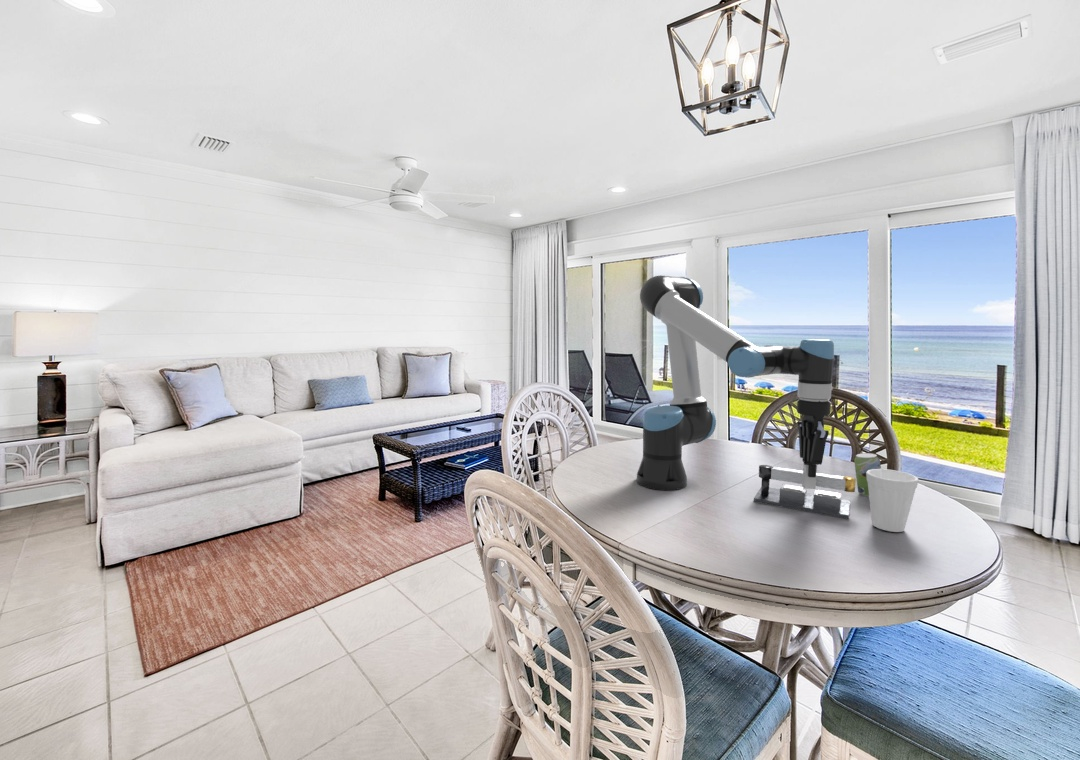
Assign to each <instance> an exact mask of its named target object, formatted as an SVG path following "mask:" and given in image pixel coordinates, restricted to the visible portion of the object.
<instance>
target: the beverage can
mask: <svg viewBox="0 0 1080 760" xmlns="http://www.w3.org/2000/svg"><path fill="white" fill-rule="evenodd" d="M853 461H854V470H855V476H856V478H855V479H856V485H857V486H856V487H857V493H858V494H859V495H862V496H863V497H867V498H869V491H868V482H867V478H866V472H867V471H868V470H871V469H882V466H881V460H880V458H879V457H878V455H877V454H875V453H872V452H864V453H863V452H862V453H861V452H860V453H858V454H856V455H855V458H854V459H853Z"/></svg>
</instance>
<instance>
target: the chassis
mask: <svg viewBox="0 0 1080 760" xmlns="http://www.w3.org/2000/svg"><path fill="white" fill-rule="evenodd" d="M770 480H771V479H763V478H761V486H760V488H759V490H758V492H757V493H756V495H755V496H754V497H753V503H759V504H764V505H771V506H775V507H779V508H780V507H781V508H784V509H791V510H796V511H801V512H802V511H803V512H808V513H812V514H818V515H824V516H829V517H833V518H834V517H835V518H840V519H846V520H849V518H850V509H851V508H850V504H851V501H850V500H848V499H842V493H839V492H834V491H827V490H821V489H814V492H813V494H812V493H807V492H808V489H805V488H803V487H802V486H799V485H798V486H797V485H791V484H785V483H783V484H782V485H781V486H780V488H775V487H771V486H770V483H771V482H770Z"/></svg>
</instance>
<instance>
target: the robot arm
mask: <svg viewBox="0 0 1080 760" xmlns="http://www.w3.org/2000/svg"><path fill="white" fill-rule="evenodd" d="M639 300H640V303H641V305H642V307H643V308H644V309H645V311H646V312H648V313H649V314H650V315H652V316H653V317H655V318H656V319H658V320H660V321H661V323H663V324H664V325H665V326H666V334H667V344H668V353H669V362H670V363H669V365H670V373H671V383H672V393H673V394H672V395H673V398H672V399H671V401H670V402H669V405H661V406H660V405H658V406H652V407H650V408H648V409H646V410H645V411H644V414H643V421H642V459H641V461H640V464H639V466H638V467H639V468H638V470H637V473H636V482H637V484H639V485H640V486H642V487H645V488H648V489H652V490H656V491H657V490H659V491H676V490H682V489H684V488H686V487H687V485H688V476H687V473H686V470H685V466H684V464H683V463H684V462H683V459H682V457H683V456H682V455H683V453H682V452H683V451H682V450H683V448H682V447H683V446H686V445H691V444H692V445H693V444H699V443H701V442H704V441H706V440H708V439H709V438H710V437H712V436H713V434H714V432H715V430H716V426H717V420H716V419H717V418H716V415H715V413H714V411H712V410H711V408H710V407H708V402H707V399H706V398H705V397H703V396H702V391H701V383H700V371H699V361H698V360H699V359H698V352H697V343H698V344H700V345H701V346H702V347H704V348H706V349H707V350H708V351H710V352H711V353H713V354H714V355H716V356H717V357H718V358H719V359H722V360H723V361H725V363H727V365H728V368H729V370H730V372H731V373H732V374H733V375H735V376H736V377H739V378H755V377H759V376H769V375H776V374H777V375H781V374H782V375H793V376H797V375H798V382H797V395H796V396H797V397H798V400H797V401H796V403H797V404H796V405H797V406H796V412H797V413H798V414H799V415H802V420H798V421H797V428H798V441H799V442H798V445H799V457H800V458H801V459H802V462H803V469H802V471H803V481H802V484H801V487H803V488H805V489H807V490H808V489H809V490H810V489H811V490H813V489H814V490H815V489H816V488H817V486H816V473H818V472H817V471H818V465H820V466H821V465H822V463H823V460H824V456H825V455H824V454H825V450H826V449H825V448H826V443H827V439H828V438H829V437H828V436H829V434H830V432H829V430H827V429H825V423H824V422H825V421H824V417H829V416H830V415H831V408H832V407H831V406H832V402H831V401H830V399H831V398H832V391H833V390H834V387H833V386H832V385H833V373H834V372H833V371H834V361H835V343H834V341H833V340H831V339H826V338H824V339H823V338H821V339H820V338H819V339H818V338H816V339H815V338H805V339H802V340H801V341H800V344H799V346H790V345H789V346H788V345H787V346H783V345H771V344H770V345H767V344H766V345H759V346H756V345H755V344H753V343H752V342H750V341H748V340H747V339H745V338H744V337H742V336H741V335H739V334H737V332H735V331H733V330H732V329H730V328H728V327H727V326H725V325H724V324H722V323H720V322H719V321H717V320H715V319H714V318H713V317H711V316H710V315H708V314H706V313H705V312H703V311H702V310H700V308H701V305H702V304H703V301H704V292H703V289H702V287H701V285H700V284H699V283H698V282H697V281H695V279H691V278H688V277H685V276H669V275H655V276H652V277H651V278H649V279H647V280H646V281H645V283H643V285H642V286H641V288H640V294H639ZM816 490H817V489H816Z"/></svg>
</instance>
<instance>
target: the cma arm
mask: <svg viewBox="0 0 1080 760" xmlns="http://www.w3.org/2000/svg"><path fill="white" fill-rule="evenodd" d="M758 477H759V478H760V479H762V478H763V479H770V480H774V481H780V482H787V483H793V484H799V485H802V481H803V470H798V469H793V468H785V467H779V466H772V465H768V464H759V466H758ZM856 482H857V479H856V478H855V477H853V476H852V477H850V476H841V475H835V474H827V473H822V472H817V473H816V487H819V488H826V489H831V490H838V491H842V492H843V491H844V492H846V493H855V491H856Z"/></svg>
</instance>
